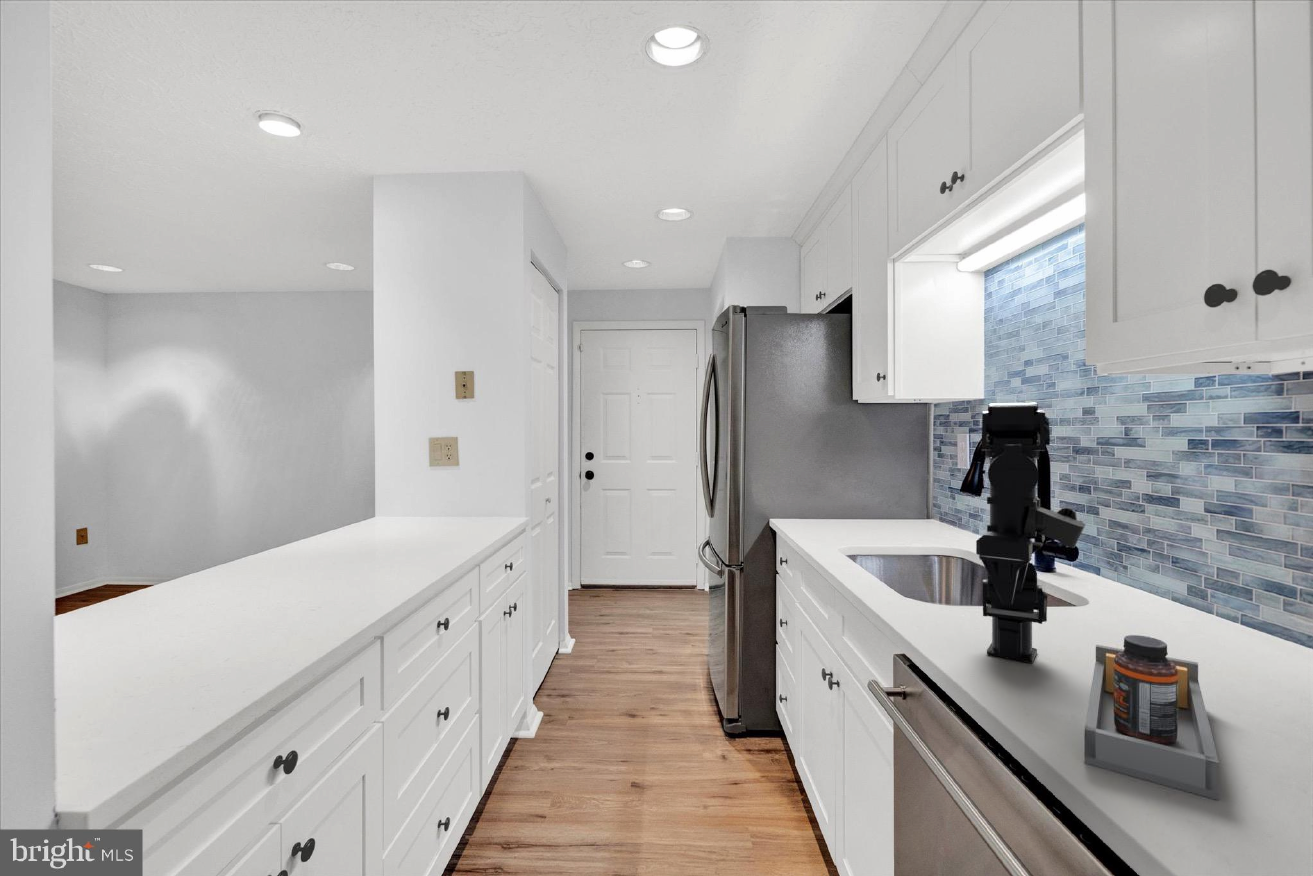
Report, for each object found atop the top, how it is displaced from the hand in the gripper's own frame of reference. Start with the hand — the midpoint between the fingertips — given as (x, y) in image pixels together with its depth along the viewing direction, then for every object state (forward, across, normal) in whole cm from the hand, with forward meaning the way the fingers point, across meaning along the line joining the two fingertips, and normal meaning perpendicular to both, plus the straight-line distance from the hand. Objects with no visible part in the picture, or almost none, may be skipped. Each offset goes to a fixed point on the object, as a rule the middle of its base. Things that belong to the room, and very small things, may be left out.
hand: (1012, 596), depth 87 cm
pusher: (+12, +5, -15) cm, 20 cm away
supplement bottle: (+12, -8, -15) cm, 21 cm away
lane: (+13, -5, -15) cm, 20 cm away
